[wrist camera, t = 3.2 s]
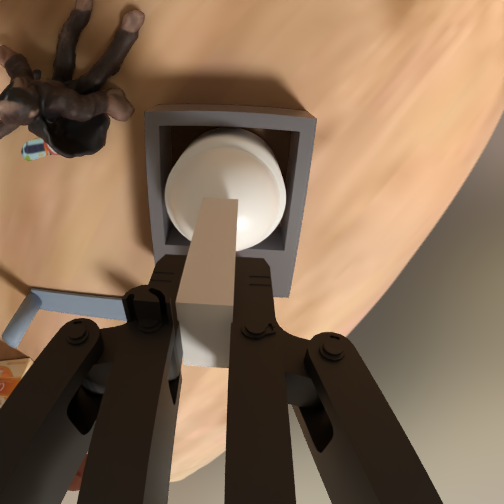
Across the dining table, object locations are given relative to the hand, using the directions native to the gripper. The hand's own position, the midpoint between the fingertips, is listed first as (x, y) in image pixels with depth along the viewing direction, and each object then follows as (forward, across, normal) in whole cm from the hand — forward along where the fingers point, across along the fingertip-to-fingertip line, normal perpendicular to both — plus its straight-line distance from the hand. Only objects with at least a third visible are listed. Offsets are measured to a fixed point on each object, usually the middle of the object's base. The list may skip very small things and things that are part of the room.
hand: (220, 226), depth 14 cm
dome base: (+7, 0, -2) cm, 7 cm away
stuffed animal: (+8, -12, +6) cm, 16 cm away
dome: (+7, 0, 0) cm, 7 cm away
